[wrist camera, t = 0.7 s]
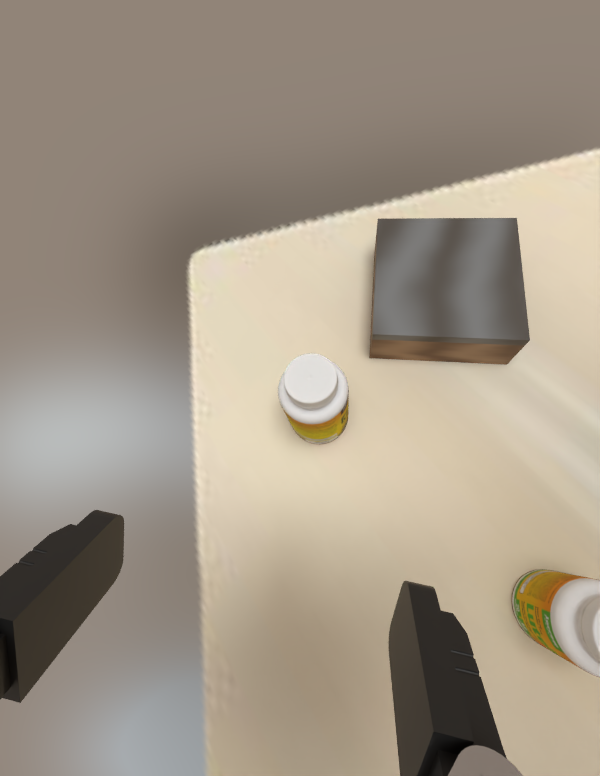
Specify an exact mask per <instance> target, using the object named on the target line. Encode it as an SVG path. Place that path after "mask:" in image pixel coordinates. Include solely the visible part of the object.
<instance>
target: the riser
mask: <svg viewBox="0 0 600 776" xmlns="http://www.w3.org/2000/svg"><path fill="white" fill-rule="evenodd" d="M529 340H530V338H529V328H528V319H527V310H526V300H525V291H524V282H523V272H522V263H521V253H520V244H519V235H518V225H517V218H434V219H378V223H377V234H376V244H375V256H374V277H373V298H372V318H371V339H370V358H383V359H405V360H426V361H447V362H469V363H490V364H508V363H509V362H510V360H511V359H512V358H513V357H514V356H515V355H516V354H517V353H518V352H519V351H520V350H521V349H522V348H523V347H524V346H525V345H526V344H527V343H528V342H529Z"/></svg>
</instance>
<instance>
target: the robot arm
mask: <svg viewBox="0 0 600 776" xmlns="http://www.w3.org/2000/svg"><path fill="white" fill-rule="evenodd" d="M123 547H124V519H123V517H122V516H121V515H117V514H112V513H108V512H103V511H99V510H95V511H93V512H91V513H90V514H89V515H88V516H87V517H85V518H84V519H83V520H82V521H81V522H80V523H79V524H78V525H77V526H76V525H72V524H70V525H68V526H66V527H64V528H62V529H60V530H58V531H56V532H53V533H51V534H50V535H49V536H47V537H46V538H45V539H44V540H43V541H41V542H40V543H39V544H38V545H37V546H35V547H34V548H33V551H30V552H28V554H26V555H25V556H24V557H23V558H21V559H20V561H19V563H16V564H14V565H13V566H12V567H11V568H10V569H9V570H7V571H6V572H5V573H4V574H3V575H2V576H0V699H1V698H5V699H9V700H13V701H16V702H20V703H21V701H22V700H23V699H24V697H25V696H26V695H27V693H28V692H29V691H30V690H31V688H32V687H33V686H34V685H35V683H36V682H37V681H38V680H39V678H40V677H41V676H42V674H43V673H44V672H45V670H46V669H47V668H48V667H49V665H50V664H51V663H52V662H53V660H54V659H55V658H56V656H57V655H58V654H59V653H60V651H61V650H62V649H63V647H64V646H65V645H66V644H67V642H68V641H69V640H70V638H71V637H72V636H73V635H74V633H75V632H76V631H77V629H78V628H79V627H80V626H81V624H82V623H83V622H84V621H85V619H86V618H87V617H88V615H89V614H90V613H91V611H92V610H93V609H94V607H95V606H96V605H97V604H98V603H99V601H100V600H101V599H102V597H103V596H104V595H105V594H106V592H107V591H108V590H109V588H110V587H111V586H112V585H113V583H114V582H115V580H116V579H117V576H118V575H119V573H120V569H121V567H122V564H123V550H124V548H123ZM473 655H474V654H473V651H472V648H471V645H470V642H469V639H468V635H467V633H466V631H465V630H464V629H463V627H462V626H461V624H460V623H459V621H458V620H457V619H456V617H455V616H454V614H453V613H448V612H444V611H441V610H440V607H439V603H438V599H437V595H436V591H435V589H434V588H433V587H431V586H426V585H422V584H417V583H413V582H409V581H404V583H403V585H402V587H401V591H400V594H399V598H398V601H397V604H396V608H395V611H394V615H393V618H392V621H391V626H390V632H389V658H390V669H391V679H392V690H393V701H394V712H395V723H396V734H397V745H398V756H399V766H400V776H522V774H521V773H520V772H519V771H518V770H517V768H516V767H515V766H514V765H513V764H512V763H511V762H510V761H509V760H507V758H506V755H505V753H504V750H503V747H502V744H501V740H500V737H499V734H498V731H497V728H496V725H495V721H494V718H493V715H492V712H491V709H490V705H489V702H488V699H487V696H486V693H485V689H484V686H483V683H482V680H481V677H479V670H478V667H477V664H476V661H475V659H474V658H473Z"/></svg>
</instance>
